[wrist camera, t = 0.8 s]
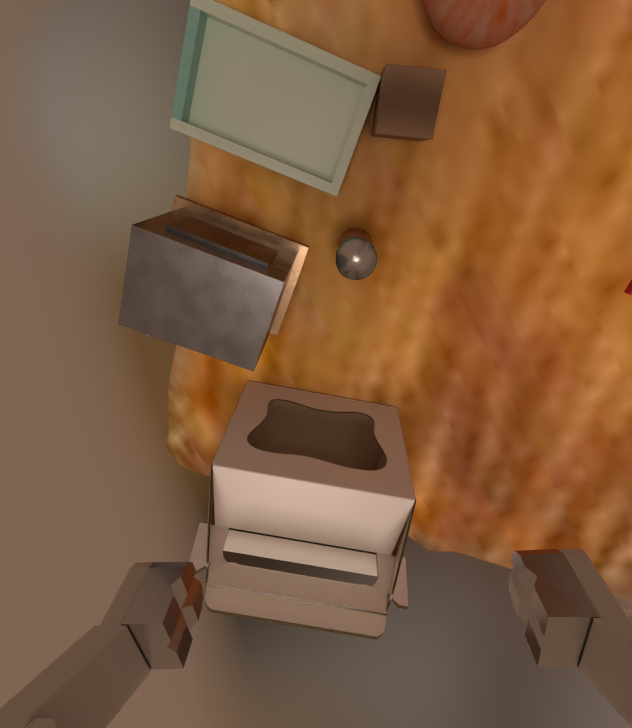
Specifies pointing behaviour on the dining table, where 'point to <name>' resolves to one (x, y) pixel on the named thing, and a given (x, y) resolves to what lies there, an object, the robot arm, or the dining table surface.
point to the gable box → (308, 510)
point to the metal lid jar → (355, 254)
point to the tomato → (479, 20)
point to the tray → (269, 96)
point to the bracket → (629, 288)
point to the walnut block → (407, 102)
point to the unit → (209, 282)
